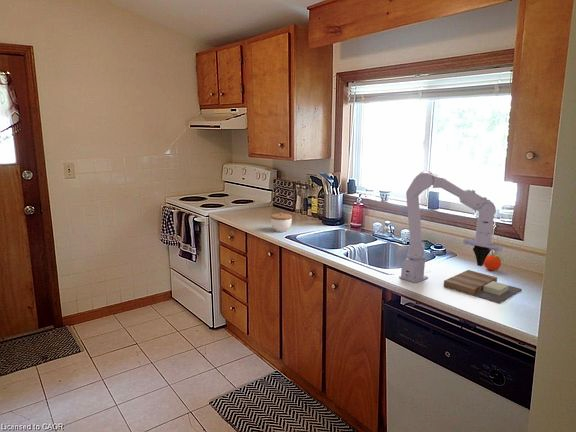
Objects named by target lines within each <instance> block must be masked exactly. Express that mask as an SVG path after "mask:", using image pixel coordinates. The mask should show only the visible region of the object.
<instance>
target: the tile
mask: <svg viewBox="0 0 576 432" xmlns="http://www.w3.org/2000/svg"><path fill="white" fill-rule="evenodd" d="M509 286H510V284H509V285H508V284H505V283H501V282H498V281H497V282H495V281H492V282H490V283H488V284H486V285H484V288H483V291H486V292H489V293H493V294H496V295H501V294H503V293H504V292H506V291H508V289H509Z"/></svg>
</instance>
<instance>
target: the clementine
mask: <svg viewBox="0 0 576 432" xmlns="http://www.w3.org/2000/svg"><path fill="white" fill-rule="evenodd" d="M501 260H502V261H504V259H503V258H502V257H501V256H498V255H495V254H488V255H487V257H486V259H485V261H484V264H483V266H484V267H485V268H486V269H487V270H488V271H491V272H493V271H498V270H499V269H500V268H501V266H502V261H501Z"/></svg>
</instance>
